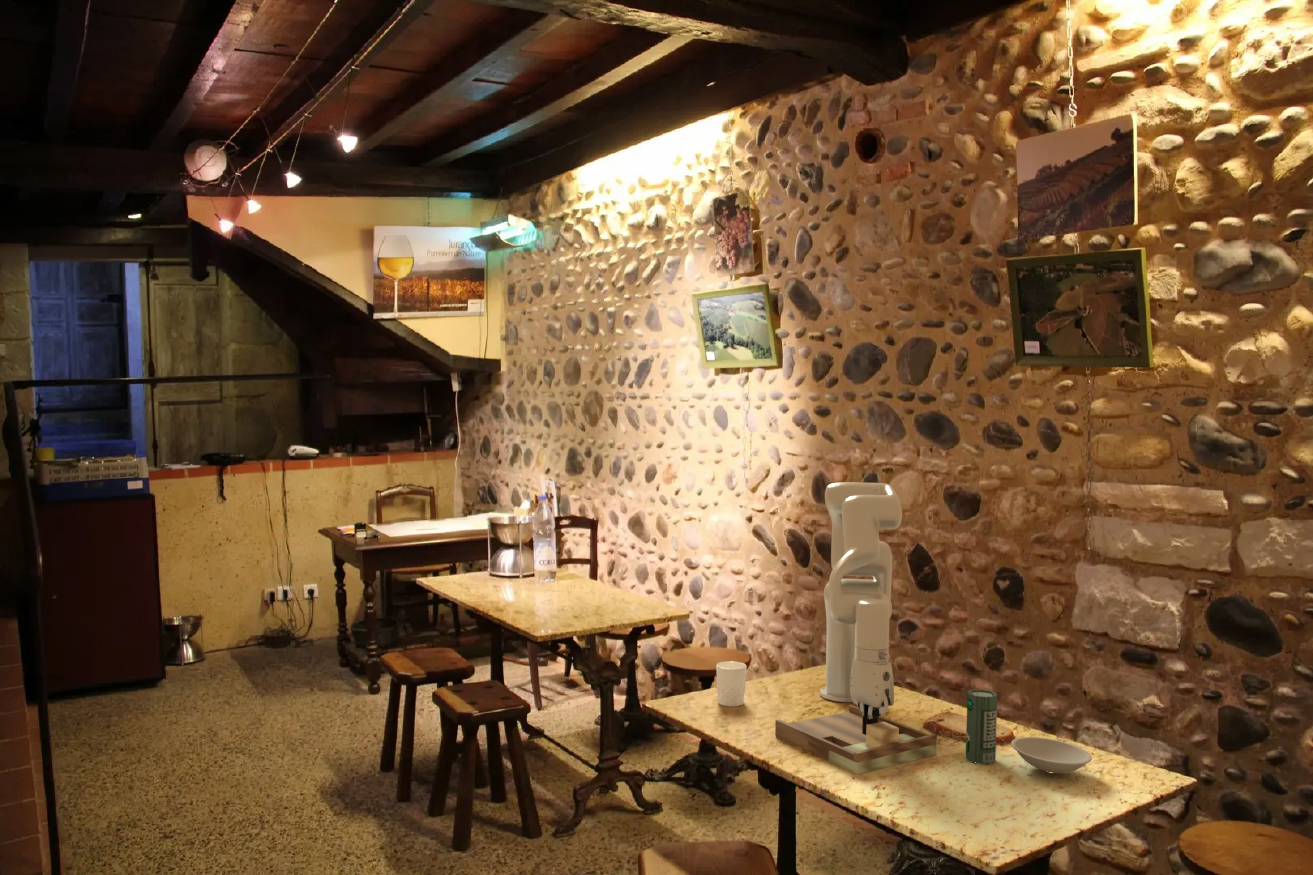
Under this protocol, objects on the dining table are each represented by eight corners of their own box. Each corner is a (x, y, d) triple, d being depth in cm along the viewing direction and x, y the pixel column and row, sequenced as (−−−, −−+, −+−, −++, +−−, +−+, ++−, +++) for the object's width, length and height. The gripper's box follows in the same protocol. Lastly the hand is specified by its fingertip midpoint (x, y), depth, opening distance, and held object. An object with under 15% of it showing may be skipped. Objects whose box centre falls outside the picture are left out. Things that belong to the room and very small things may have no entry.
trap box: (851, 720, 260) (851, 702, 260) (936, 754, 237) (936, 735, 236) (775, 736, 248) (775, 717, 248) (856, 774, 224) (857, 753, 224)
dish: (994, 764, 231) (995, 742, 231) (1039, 754, 238) (1040, 732, 238) (1061, 791, 215) (1062, 768, 215) (1107, 779, 223) (1107, 756, 222)
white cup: (710, 700, 276) (710, 663, 276) (736, 697, 279) (737, 660, 279) (724, 708, 269) (725, 670, 268) (751, 705, 272) (752, 667, 272)
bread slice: (1022, 743, 246) (1022, 728, 246) (952, 749, 242) (953, 733, 242) (981, 719, 263) (981, 705, 263) (916, 724, 259) (916, 709, 259)
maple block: (883, 743, 236) (883, 721, 236) (898, 750, 232) (898, 727, 232) (865, 746, 234) (866, 724, 234) (880, 753, 230) (881, 731, 229)
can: (979, 752, 238) (981, 687, 238) (1000, 761, 233) (1002, 694, 232) (960, 757, 235) (962, 691, 234) (981, 766, 230) (983, 698, 229)
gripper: (907, 659, 232) (905, 741, 233) (861, 645, 245) (859, 722, 246) (882, 663, 228) (880, 746, 229) (836, 648, 241) (835, 727, 242)
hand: (869, 733), depth 237 cm, fingers closed
